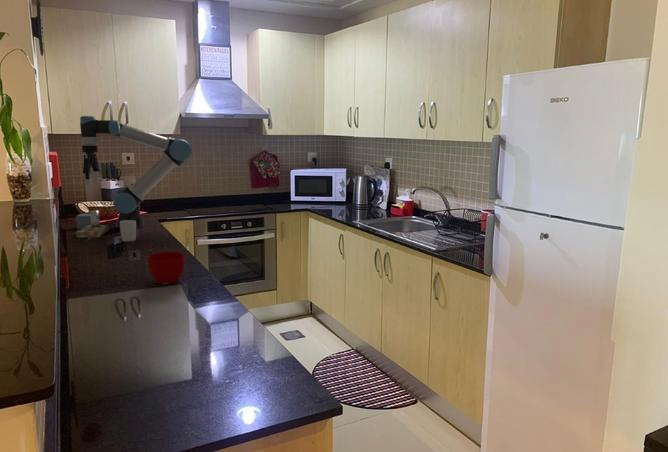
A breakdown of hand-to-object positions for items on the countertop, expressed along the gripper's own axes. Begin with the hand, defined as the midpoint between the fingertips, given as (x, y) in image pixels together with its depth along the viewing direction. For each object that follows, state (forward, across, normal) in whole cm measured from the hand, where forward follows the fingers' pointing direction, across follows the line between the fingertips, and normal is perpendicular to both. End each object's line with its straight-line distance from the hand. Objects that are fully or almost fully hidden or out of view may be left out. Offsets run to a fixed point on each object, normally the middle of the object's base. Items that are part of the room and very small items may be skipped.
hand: (92, 184), depth 272 cm
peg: (+27, 0, 0) cm, 27 cm away
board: (+27, -5, 0) cm, 27 cm away
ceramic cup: (+27, -103, -53) cm, 119 cm away
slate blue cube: (+27, +13, +8) cm, 31 cm away
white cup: (+27, -25, -23) cm, 43 cm away
